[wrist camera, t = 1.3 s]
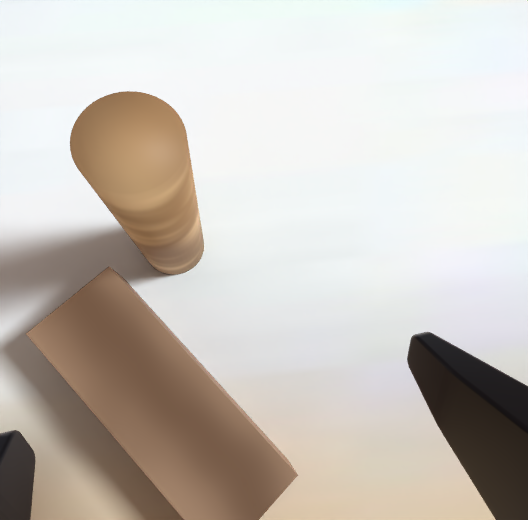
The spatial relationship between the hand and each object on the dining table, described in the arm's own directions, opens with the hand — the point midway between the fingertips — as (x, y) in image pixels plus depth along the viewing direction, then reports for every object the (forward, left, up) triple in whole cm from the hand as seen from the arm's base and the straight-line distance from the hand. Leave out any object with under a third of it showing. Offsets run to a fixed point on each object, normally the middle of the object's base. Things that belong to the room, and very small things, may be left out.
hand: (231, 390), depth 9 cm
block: (-3, +1, -14) cm, 14 cm away
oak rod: (+3, +8, -14) cm, 16 cm away
